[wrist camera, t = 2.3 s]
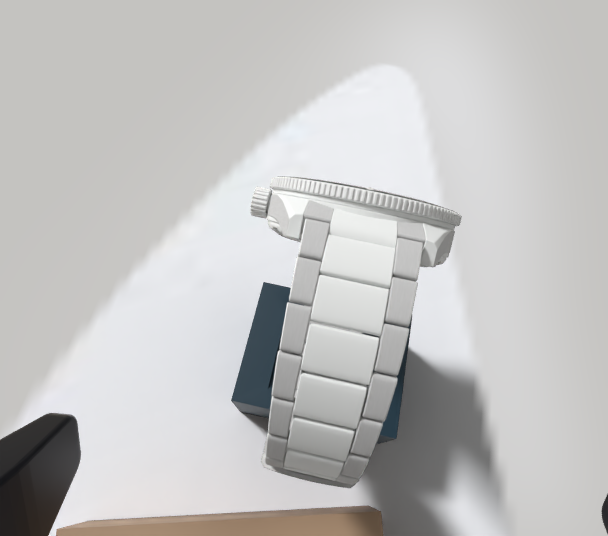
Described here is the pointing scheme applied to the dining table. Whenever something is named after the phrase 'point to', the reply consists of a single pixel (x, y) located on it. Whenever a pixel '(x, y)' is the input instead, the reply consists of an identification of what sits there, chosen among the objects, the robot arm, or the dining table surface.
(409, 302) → the watch
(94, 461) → the dining table surface
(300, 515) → the plinth
